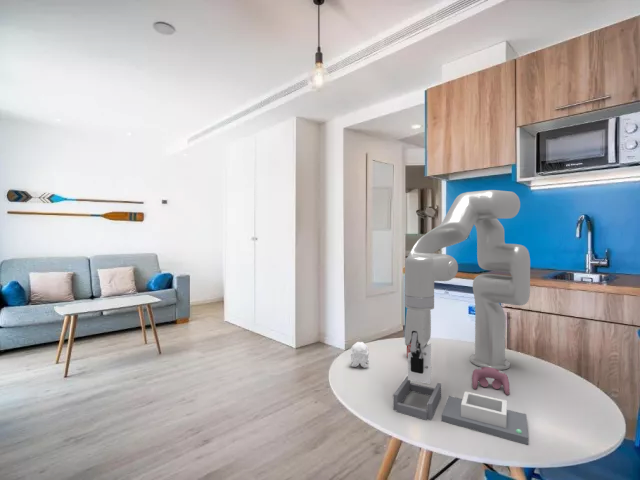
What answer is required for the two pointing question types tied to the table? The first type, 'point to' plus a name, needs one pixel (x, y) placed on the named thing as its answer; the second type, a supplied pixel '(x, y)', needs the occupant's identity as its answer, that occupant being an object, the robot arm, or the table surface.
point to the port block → (486, 416)
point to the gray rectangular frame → (408, 386)
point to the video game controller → (488, 372)
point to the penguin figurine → (359, 355)
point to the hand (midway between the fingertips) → (419, 368)
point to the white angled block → (426, 374)
